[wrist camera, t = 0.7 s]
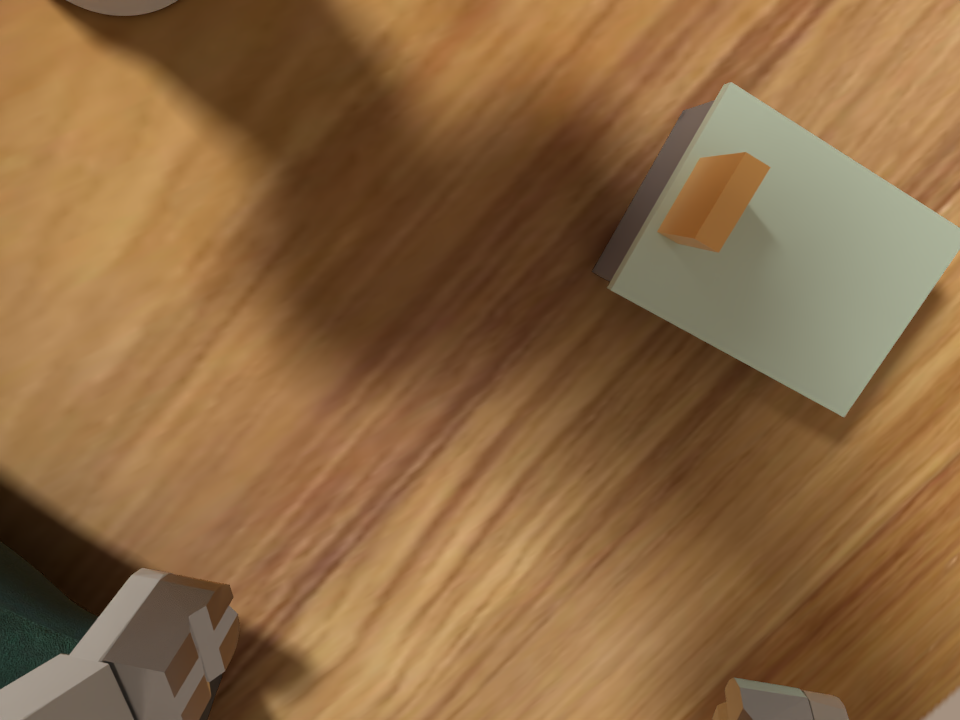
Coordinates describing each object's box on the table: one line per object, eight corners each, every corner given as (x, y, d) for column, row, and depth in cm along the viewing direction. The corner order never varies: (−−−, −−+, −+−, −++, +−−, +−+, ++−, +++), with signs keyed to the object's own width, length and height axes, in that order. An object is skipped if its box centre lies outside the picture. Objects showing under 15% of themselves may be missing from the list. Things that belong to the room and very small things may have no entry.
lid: (600, 284, 43) (639, 306, 35) (713, 88, 41) (784, 62, 32) (823, 405, 47) (905, 451, 38) (940, 231, 44) (1056, 241, 36)
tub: (591, 271, 49) (617, 284, 42) (683, 110, 46) (726, 96, 39) (781, 375, 52) (833, 403, 45) (876, 230, 49) (947, 236, 42)
